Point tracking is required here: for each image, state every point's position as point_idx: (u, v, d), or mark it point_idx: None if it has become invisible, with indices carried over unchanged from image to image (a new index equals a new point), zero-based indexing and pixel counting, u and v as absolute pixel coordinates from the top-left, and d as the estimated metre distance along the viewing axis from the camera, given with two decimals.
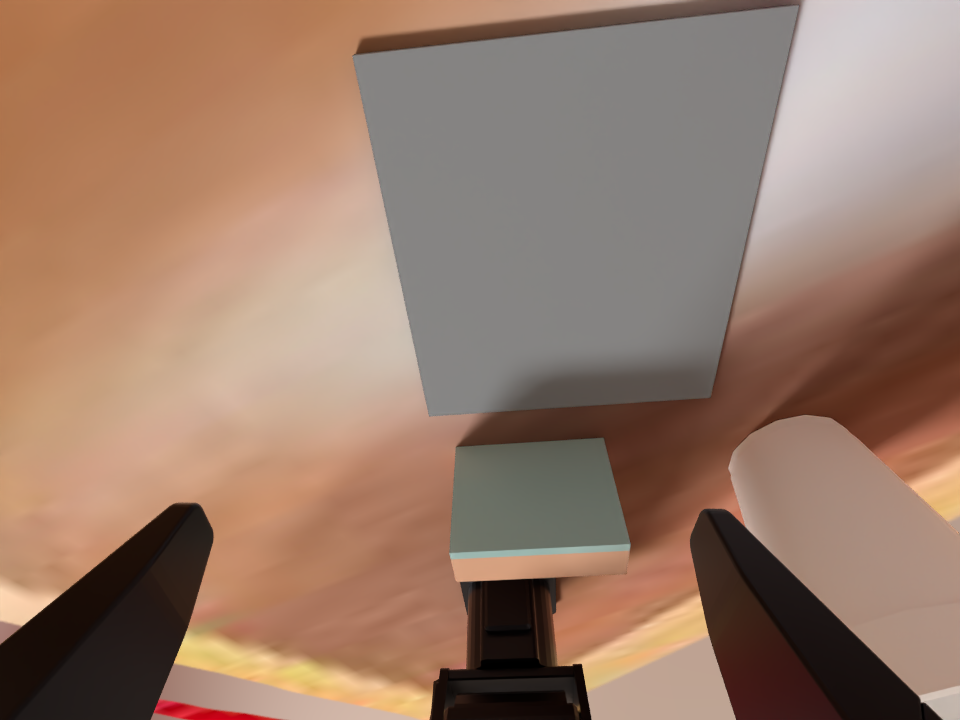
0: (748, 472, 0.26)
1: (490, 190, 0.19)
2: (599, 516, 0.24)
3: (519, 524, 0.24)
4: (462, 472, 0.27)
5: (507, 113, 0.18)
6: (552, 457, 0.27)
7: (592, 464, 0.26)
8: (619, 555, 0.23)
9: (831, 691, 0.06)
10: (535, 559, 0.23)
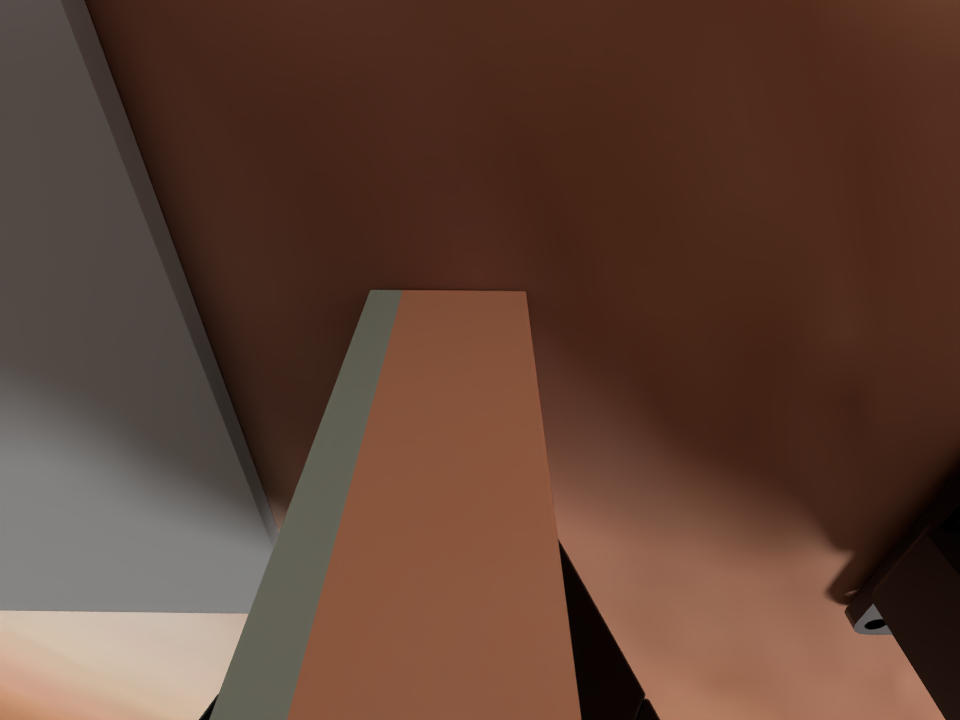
0: None
1: None
2: None
3: None
4: None
5: None
6: None
7: None
8: None
9: None
10: None
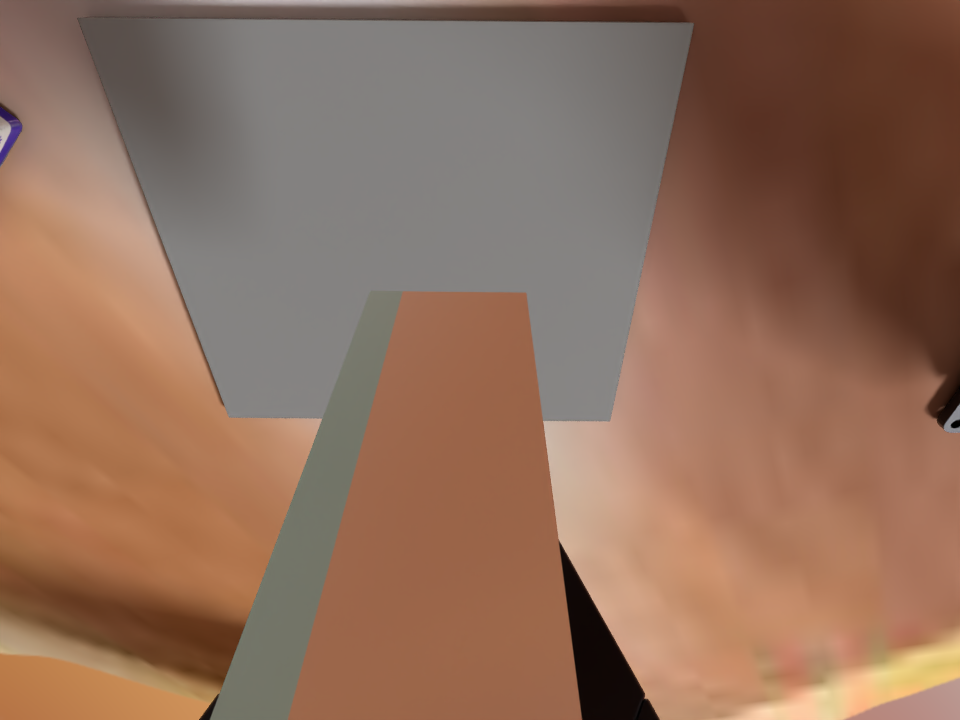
0: None
1: (326, 337, 0.19)
2: None
3: None
4: None
5: (251, 318, 0.19)
6: None
7: None
8: None
9: None
10: None
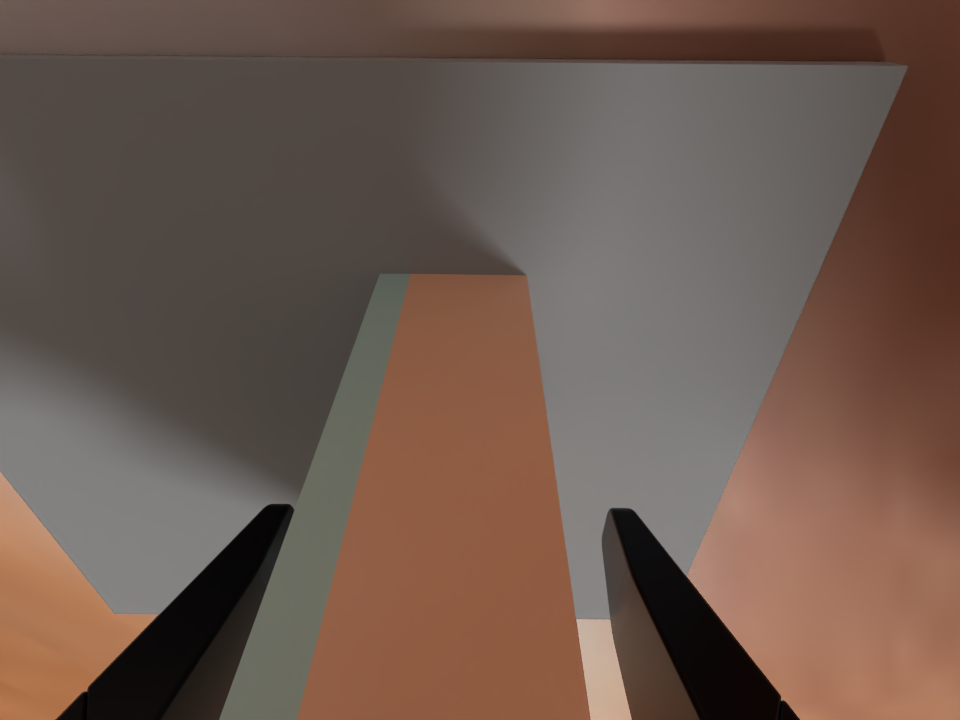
0: None
1: (242, 529, 0.12)
2: None
3: None
4: None
5: (121, 507, 0.12)
6: None
7: None
8: None
9: (693, 689, 0.06)
10: None
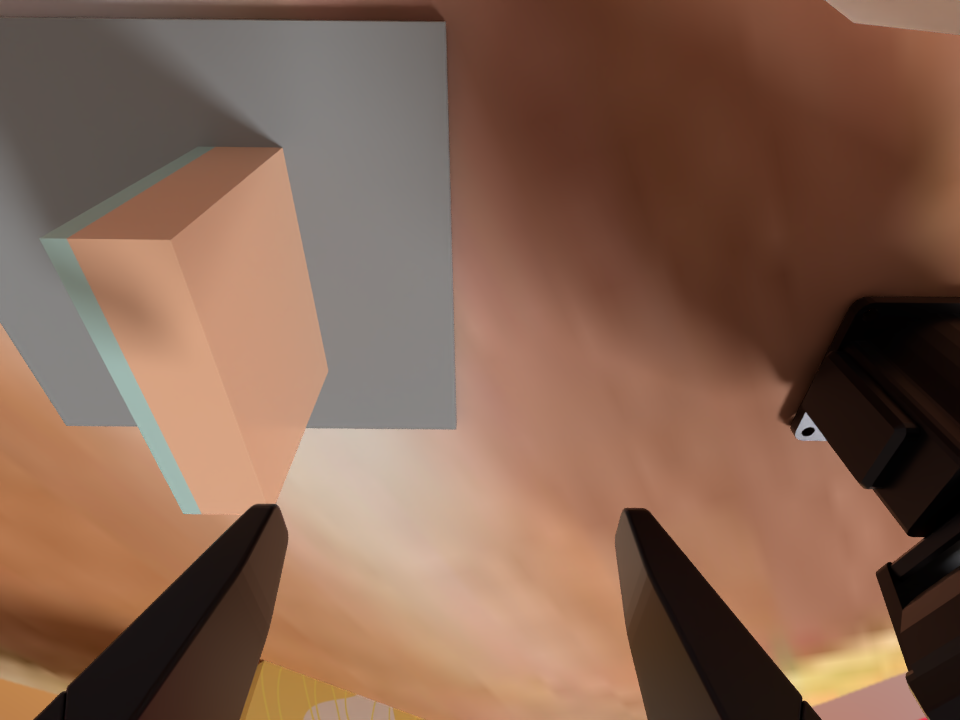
0: None
1: None
2: None
3: None
4: None
5: (63, 325, 0.18)
6: None
7: None
8: (94, 260, 0.10)
9: (714, 690, 0.06)
10: (165, 410, 0.12)
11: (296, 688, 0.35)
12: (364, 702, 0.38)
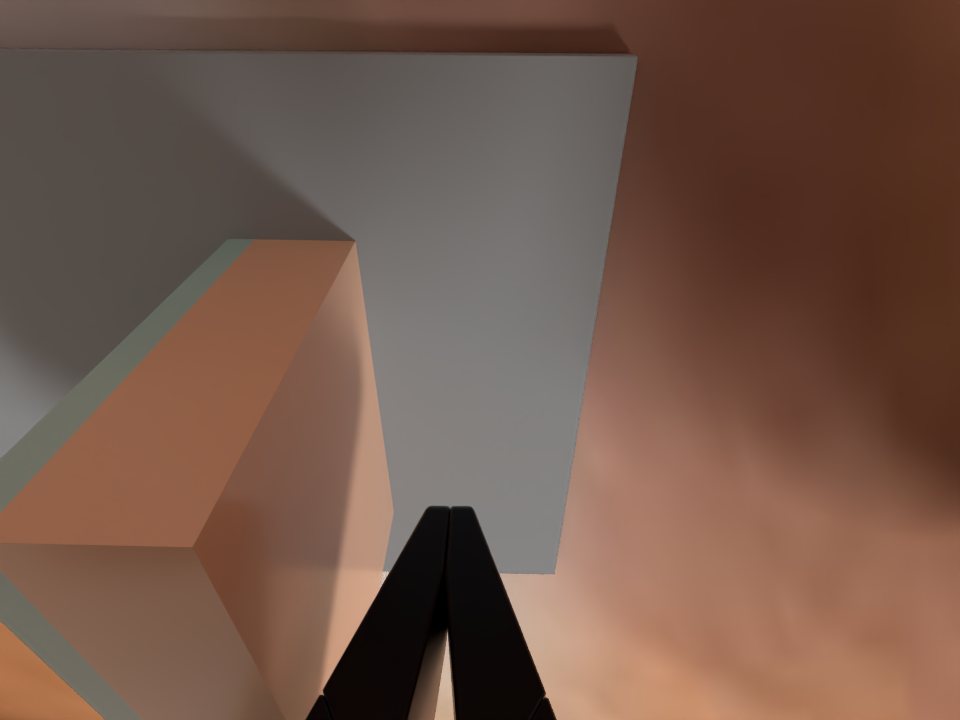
0: None
1: None
2: None
3: None
4: None
5: None
6: None
7: None
8: (35, 572, 0.05)
9: (459, 686, 0.06)
10: None
11: None
12: None
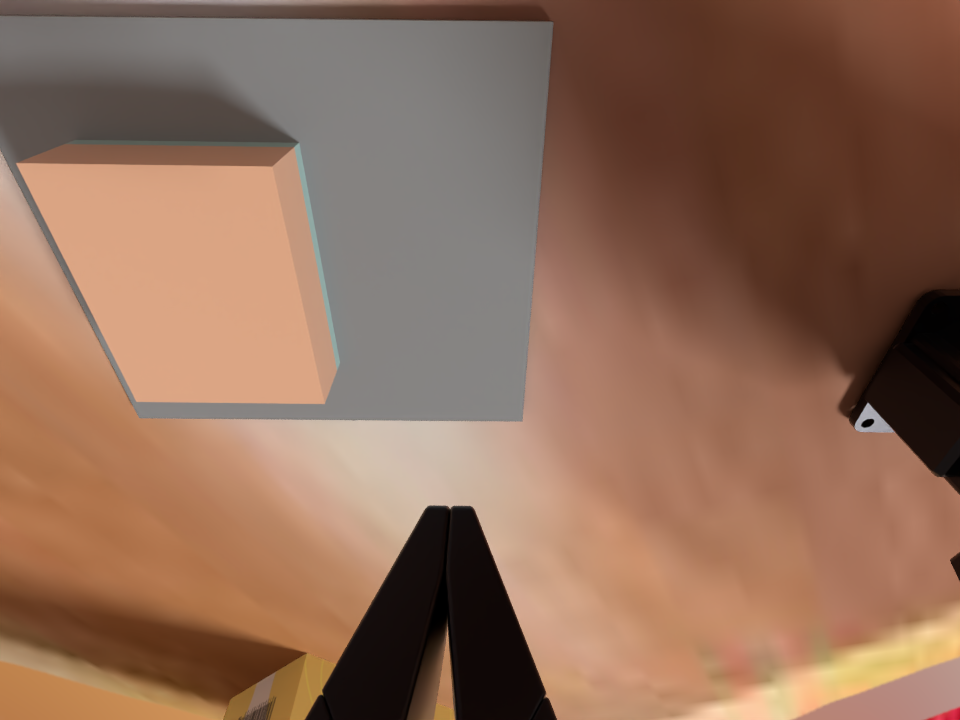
0: None
1: None
2: None
3: None
4: None
5: None
6: None
7: None
8: None
9: (460, 686, 0.06)
10: None
11: None
12: None
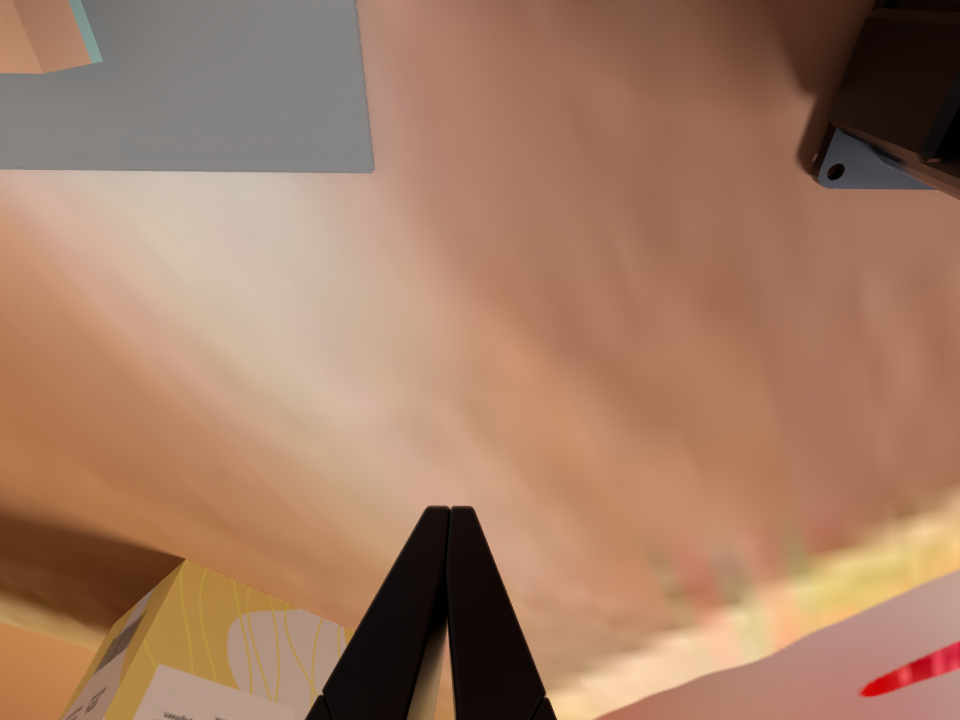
0: None
1: None
2: None
3: None
4: None
5: None
6: None
7: None
8: None
9: (460, 686, 0.06)
10: None
11: (224, 593, 0.30)
12: (308, 617, 0.33)
